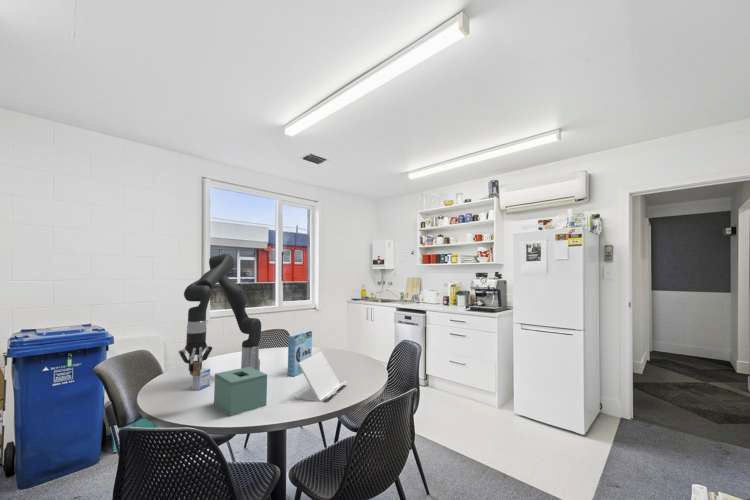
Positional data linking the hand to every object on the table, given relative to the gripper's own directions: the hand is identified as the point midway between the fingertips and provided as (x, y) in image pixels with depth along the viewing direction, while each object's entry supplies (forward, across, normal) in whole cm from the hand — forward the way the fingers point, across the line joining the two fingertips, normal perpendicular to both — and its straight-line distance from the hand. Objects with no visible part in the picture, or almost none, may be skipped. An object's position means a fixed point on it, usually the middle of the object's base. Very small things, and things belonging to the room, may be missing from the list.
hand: (195, 371), depth 144 cm
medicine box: (+17, -13, -29) cm, 36 cm away
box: (+17, -17, +8) cm, 25 cm away
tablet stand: (+17, -53, +20) cm, 59 cm away
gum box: (+17, -65, -17) cm, 69 cm away
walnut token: (+1, 0, 0) cm, 1 cm away
